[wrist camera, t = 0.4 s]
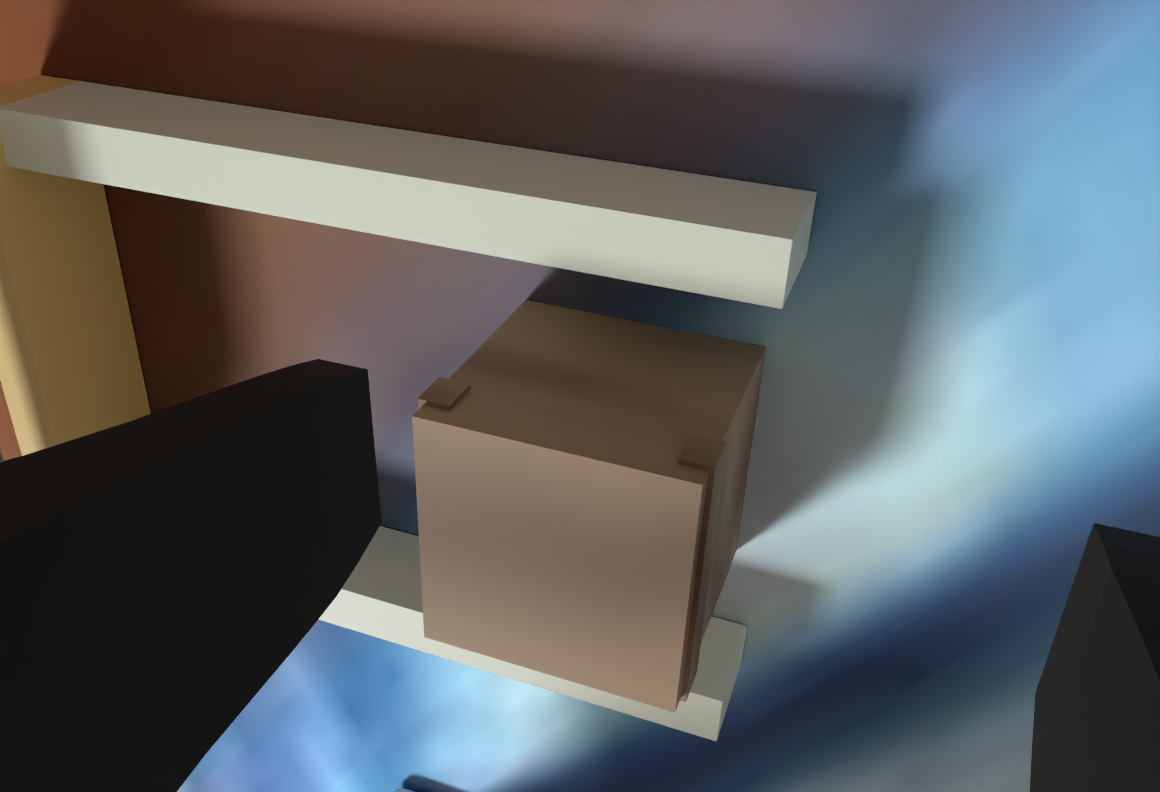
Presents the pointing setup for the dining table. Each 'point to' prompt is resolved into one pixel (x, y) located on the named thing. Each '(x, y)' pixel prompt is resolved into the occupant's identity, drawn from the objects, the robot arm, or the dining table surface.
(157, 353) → the dining table surface
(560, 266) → the cream u-shaped frame
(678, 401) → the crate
